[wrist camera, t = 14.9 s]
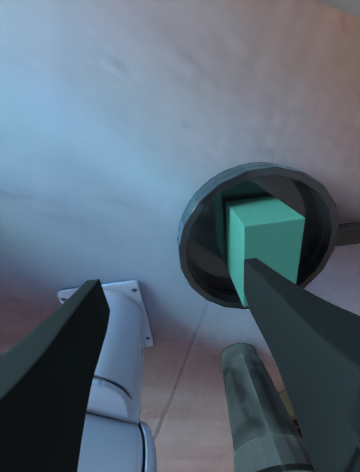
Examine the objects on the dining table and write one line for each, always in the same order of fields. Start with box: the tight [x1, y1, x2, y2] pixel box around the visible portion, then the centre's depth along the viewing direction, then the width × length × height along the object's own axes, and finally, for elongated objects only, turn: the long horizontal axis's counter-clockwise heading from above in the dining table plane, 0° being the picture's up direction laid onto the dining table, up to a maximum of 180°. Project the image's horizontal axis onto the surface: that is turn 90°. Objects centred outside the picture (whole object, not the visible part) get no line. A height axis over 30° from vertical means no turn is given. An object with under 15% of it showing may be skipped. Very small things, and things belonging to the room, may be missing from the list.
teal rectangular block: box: [226, 196, 305, 307], centre depth 18 cm, size 7×4×5 cm, turn 7°
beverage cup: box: [221, 343, 314, 472], centre depth 20 cm, size 7×7×20 cm
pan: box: [177, 162, 339, 309], centre depth 20 cm, size 13×13×2 cm
